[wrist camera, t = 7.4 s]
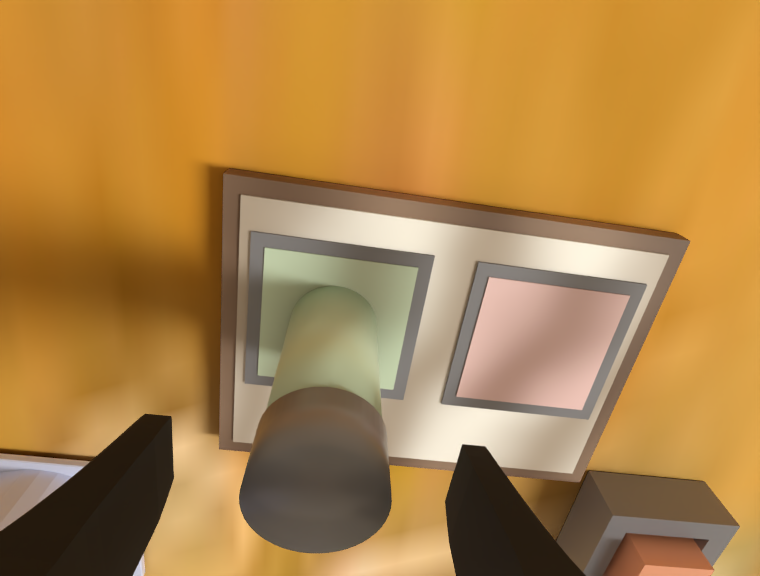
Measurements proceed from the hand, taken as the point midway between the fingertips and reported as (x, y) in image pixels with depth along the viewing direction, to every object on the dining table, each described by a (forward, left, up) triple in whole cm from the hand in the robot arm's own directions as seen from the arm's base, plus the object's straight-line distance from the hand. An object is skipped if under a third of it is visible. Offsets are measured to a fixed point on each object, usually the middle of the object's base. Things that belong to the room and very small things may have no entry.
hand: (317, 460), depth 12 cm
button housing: (+16, -10, -8) cm, 20 cm away
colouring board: (+4, -1, -8) cm, 9 cm away
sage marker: (0, 0, -7) cm, 7 cm away
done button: (+16, -10, -6) cm, 20 cm away
